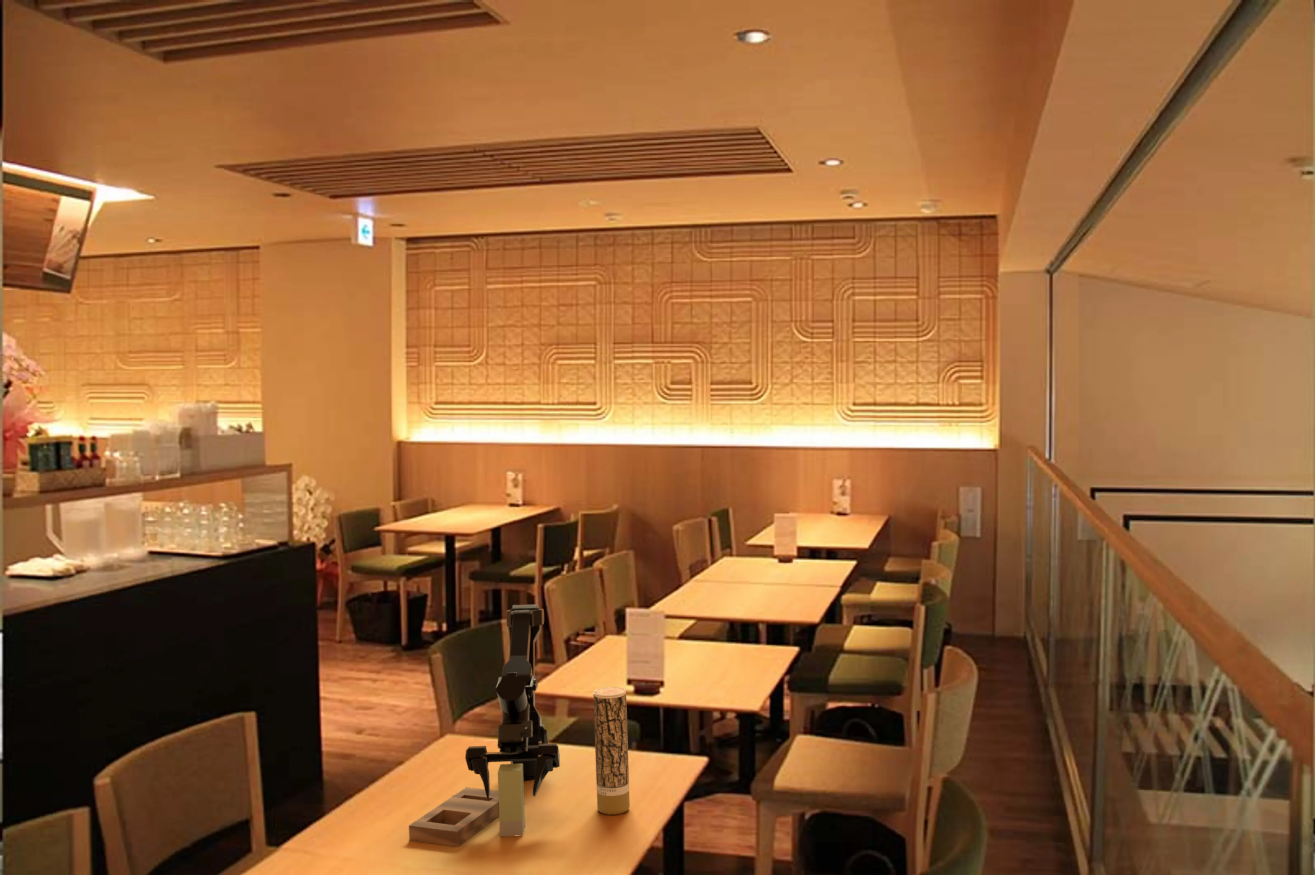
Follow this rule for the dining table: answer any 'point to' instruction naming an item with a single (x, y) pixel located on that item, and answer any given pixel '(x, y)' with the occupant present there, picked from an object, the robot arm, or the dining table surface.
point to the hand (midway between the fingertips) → (510, 796)
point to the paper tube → (611, 750)
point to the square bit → (511, 799)
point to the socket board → (456, 818)
